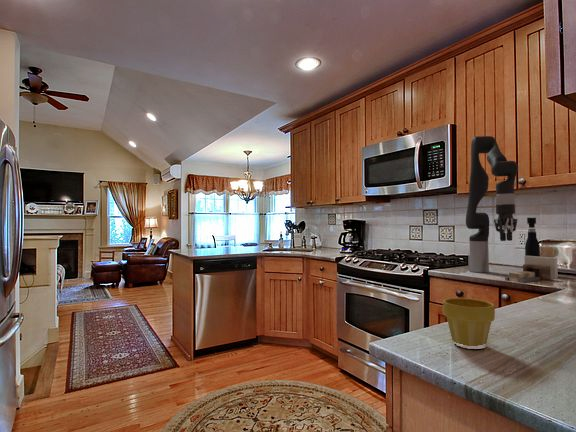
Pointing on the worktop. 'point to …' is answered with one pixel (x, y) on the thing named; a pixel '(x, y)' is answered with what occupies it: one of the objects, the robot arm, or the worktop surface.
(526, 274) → the peg
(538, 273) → the block
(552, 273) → the backstop board
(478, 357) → the worktop surface
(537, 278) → the guide rails
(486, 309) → the plant pot
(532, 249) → the wine bottle
